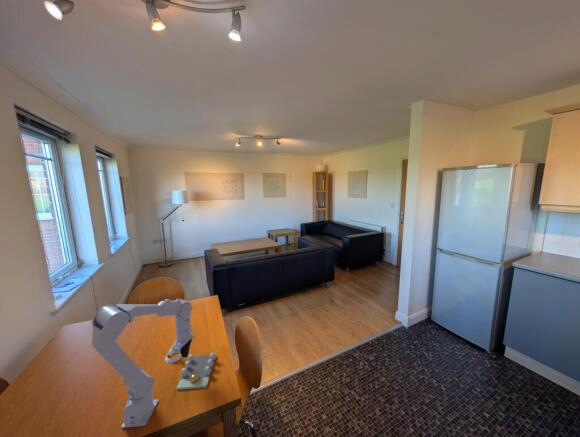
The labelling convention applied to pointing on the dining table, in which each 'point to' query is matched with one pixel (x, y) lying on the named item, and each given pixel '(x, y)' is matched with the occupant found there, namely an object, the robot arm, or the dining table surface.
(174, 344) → the vr controller
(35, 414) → the dining table surface
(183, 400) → the dining table surface
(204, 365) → the board
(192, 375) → the brass metal puck
